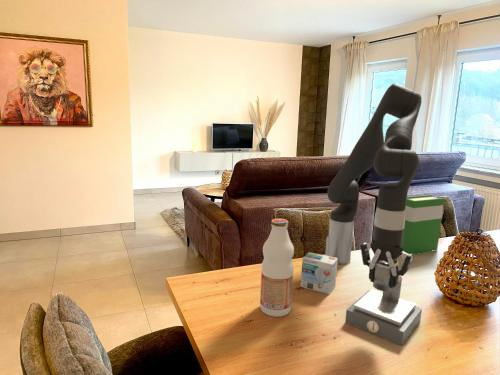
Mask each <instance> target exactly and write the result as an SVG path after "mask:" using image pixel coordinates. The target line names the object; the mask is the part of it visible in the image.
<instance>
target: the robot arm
mask: <svg viewBox="0 0 500 375" xmlns="http://www.w3.org/2000/svg"><path fill="white" fill-rule="evenodd" d="M421 106H422V95H421V94H420V93H419V92H418V91H415V90H414V89H413V90H412V89H410V88H408V87H405V86H403V85H401V84H398V83H392V84H391V85H389V87H388V88H387V89H386V90H385V93H384V94H383V96H382V97H381V100H380V101H379V103H378V105H377V107H376V109H375V111H374V112H373V115H372V117H371V119H370V121H369V123H368V124H367V126H366V128H365V129H364V131H363V133H362V134H361V136H360V137H359V139H358V140H357V142H356V143H355V145H354V147H353V149H352V150H351V152H350V155H349V156H348V157H347V159H346V160H345V162H344V164H343V165H342V167H341V168H340V170H339V171H338V172H337V174H336V175H334V176H335V177H333V179H332V180H331V182H330V183H329V185H328V188H327V193H326V194H327V198H328V200H329V202H331V203H333V204H339V205H338V207H336V208H335V209H333V210H331V212H330V218H329V229H328V235H327V236H326V241H325V253H324V255H325V256H330V257H335V258H338V261H337V265H344V264H345V265H346V264H349V263H350V262H351V257H352V255H351V253H352V246H353V244H352V243H353V234H354V222H355V216H356V215H357V212H358V204H359V198H360V188H359V184H358V183H357V181H356V179H358V178H359V177H360V176H361V175H364V174H365V173H366V172H367V171H369V170H370V169H371V168H374V171H375V172H376V173H377V175H380V176H383V177H394V178H395V177H396V178H401V179H400V180H399V181H397V182H396V183H392V184H391V183H390V184H382V185H381V186H379V188H378V193H377V200H376V210H375V214H374V220H373V231H372V241H371V243H369V242H366V241H365V242H363V243H361V244H360V251H361V252H360V253H361V258H362V264H363V265H364V266H367V267H368V268H369V273H368V279H369V282H371V283H373V280H374V271H375V264H376V262H377V261H379V260H380V261H385V262H387V263H389V267H390V268H391V272H392V275H391V282H390V288H392V289H393V288H394V287H396V286H397V284H398V277H399V276H401V277H403V276H405V274H407V272H408V270H409V268H410V266H411V263H412V262H413V259H414V255H413V254H408V253H406V252H404V251H403V248H402V242H403V233H404V225H405V208H406V200H407V197H408V192H409V189H410V187H411V184H412V181H413V179H414V177H415V175H416V172H417V170H418V168H419V164H420V160H419V159H420V158H419V155H418V153H416V152H415V151H414V150H412V147H413V145H412V144H413V133H414V129H415V128H414V127H415V125H416V122H417V118H418V116H419V113H420V110H421V109H420V108H421ZM386 115H390V116H392V117H393V118H397V119H396V120H395V121H393V122H392V123H391V124H390V125H388V126H387V127H388V128H387V129H386V131H385V134H384V131H383V129H384V119H385V116H386ZM384 135H385V136H384ZM370 250H371V251H372V252H373V254H374V255H373V257H372V259H371V254H370ZM400 256H401V257H402V258H401V260H402V261H403V264H402V266H401V268H400V266H399V257H400Z"/></svg>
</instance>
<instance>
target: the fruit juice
mask: <svg viewBox="0 0 500 375" xmlns="http://www.w3.org/2000/svg"><path fill="white" fill-rule="evenodd" d="M270 224H271V230H270V232H269V236H268V238H267V239H266V241H265V242H264V243H263V247H262V254H263V260H262V264H261V276H260V296H259V297H260V300H259V307H260V311H261V312H262V313H263V314H265V315H267V316H270V317H275V318H276V317H277V318H280V317H285V316H287V315H288V314H290V312H291V310H292V301H293V298H292V297H293V296H292V295H293V285H294V284H293V283H294V282H293V281H294V262H293V258H294V255H295V254H294V253H295V248H294V244H293V243H292V241H291V239H290V235H289V231H288V227H289V220H288V219H285V218H273V219H272V220H271V222H270Z"/></svg>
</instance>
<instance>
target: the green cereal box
mask: <svg viewBox="0 0 500 375" xmlns="http://www.w3.org/2000/svg"><path fill="white" fill-rule="evenodd" d="M445 199H446V198H445V197H439V198H437V197H434V196H433V195H432V194H425V195H424V194H423V195H410V196H407V200H406V208H405V225H404V233H403V242H402V248H403V251H404V252H406V253H408V254H415V255H419V254H418V253H421V254H424V253H423V252H427V253H429V252H428V251H432V250H437V251H438V249H439V248H438V247H439V240H440V233H441V232H440V231H441V225H442V219H443V213H444V212H443V211H444V204H445ZM432 252H433V251H432Z"/></svg>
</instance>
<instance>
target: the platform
mask: <svg viewBox="0 0 500 375" xmlns="http://www.w3.org/2000/svg"><path fill="white" fill-rule="evenodd" d="M369 291H370V292H368V291H367V292H368V293H367V292H366V293H367V294H366V295H365V296H364V297H363V298H361V297H360V298H361V299H360V298H359V299H360V300H359V301H358V302H357V303H356V304H354V303H353V304H354V309H356V310H359V311H361V312H364V313H366V314H369V315H372V316H374V317H377V318H380V319H382V320H385V321H387V322H390V323H393V324H395V325H398V326H401V324H402V323H403V322H404V321H405V320H406V318H407V317H408V316H409V315H410V313H411V312H412V311H413V310H414V309H415V306H416V305H417V304H416V303H415V302H412V301H408V300H406V299H402V298H400V299H399V302H396V303H392V302H388V301H385V300H384V299H383V298H382V294H383V291H380V290H377V289H373V288H372V289H370V290H369ZM416 307H417V306H416Z"/></svg>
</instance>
